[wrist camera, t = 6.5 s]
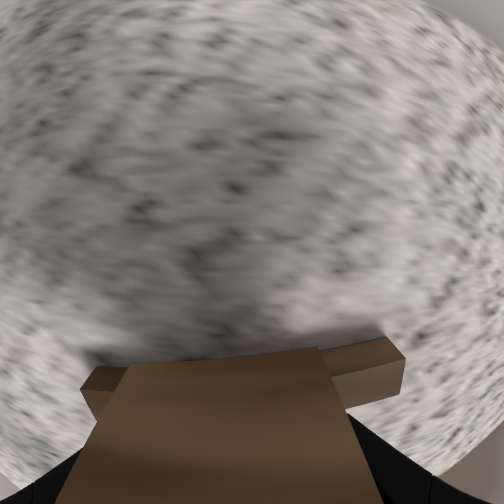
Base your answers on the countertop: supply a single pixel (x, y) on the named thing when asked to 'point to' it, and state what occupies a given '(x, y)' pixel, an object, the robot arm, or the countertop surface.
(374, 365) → the strip
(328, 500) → the slab
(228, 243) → the countertop surface
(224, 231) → the countertop surface
